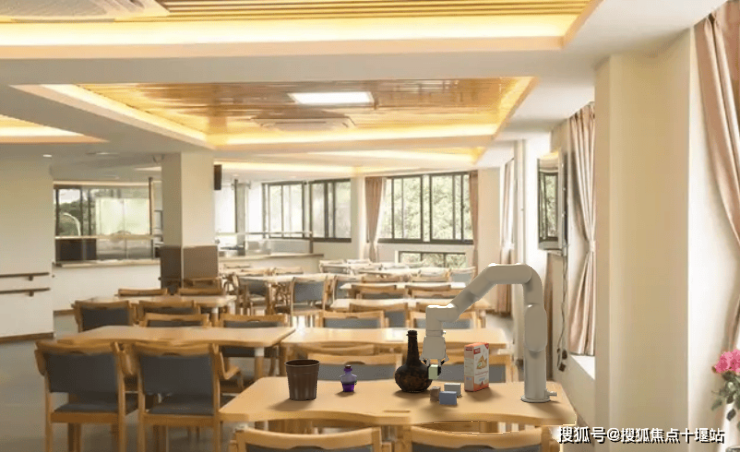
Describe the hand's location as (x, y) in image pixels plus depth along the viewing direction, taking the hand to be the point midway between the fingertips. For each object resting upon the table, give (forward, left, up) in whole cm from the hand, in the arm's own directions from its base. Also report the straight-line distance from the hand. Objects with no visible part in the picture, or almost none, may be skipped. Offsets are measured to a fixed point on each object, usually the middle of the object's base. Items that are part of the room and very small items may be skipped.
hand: (434, 374), depth 368 cm
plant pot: (+59, +8, -11) cm, 60 cm away
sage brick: (0, 0, -1) cm, 1 cm away
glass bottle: (+13, -16, -11) cm, 23 cm away
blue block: (-7, +8, -11) cm, 15 cm away
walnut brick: (0, 0, -11) cm, 11 cm away
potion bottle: (+43, -10, -11) cm, 45 cm away
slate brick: (-6, -10, -11) cm, 16 cm away
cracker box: (-15, -25, -11) cm, 31 cm away
